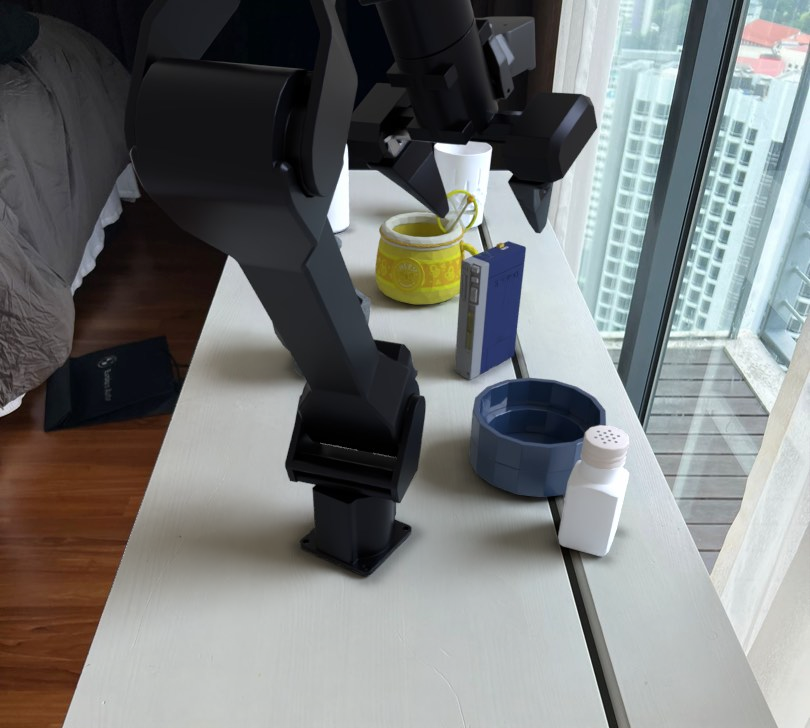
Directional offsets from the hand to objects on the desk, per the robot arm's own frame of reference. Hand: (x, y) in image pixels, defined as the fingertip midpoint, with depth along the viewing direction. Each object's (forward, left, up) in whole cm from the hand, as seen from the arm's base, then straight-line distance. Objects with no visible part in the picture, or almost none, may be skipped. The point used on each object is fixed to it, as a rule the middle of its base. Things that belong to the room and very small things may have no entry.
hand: (491, 221), depth 68 cm
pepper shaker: (-11, -16, -19) cm, 27 cm away
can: (+33, +41, -18) cm, 56 cm away
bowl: (-4, -8, -18) cm, 20 cm away
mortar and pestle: (+1, +18, -19) cm, 26 cm away
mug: (+22, +18, -19) cm, 34 cm away
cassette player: (+10, +4, -19) cm, 22 cm away
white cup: (+46, +27, -19) cm, 57 cm away
